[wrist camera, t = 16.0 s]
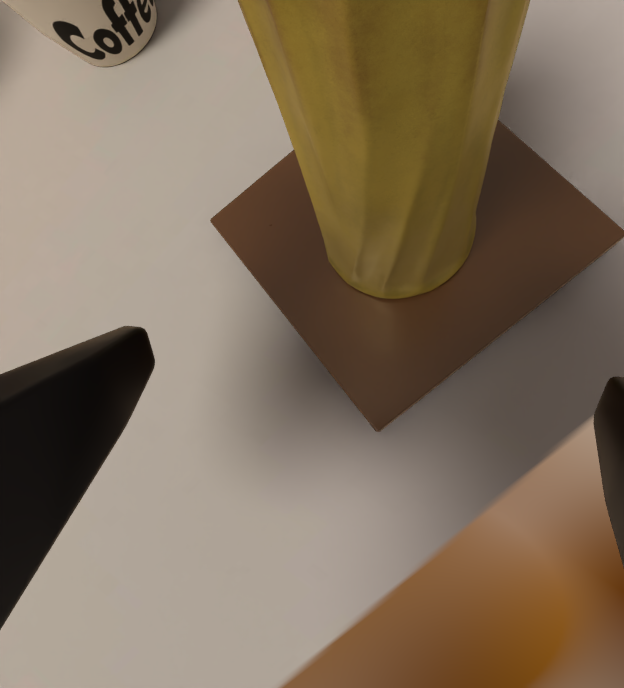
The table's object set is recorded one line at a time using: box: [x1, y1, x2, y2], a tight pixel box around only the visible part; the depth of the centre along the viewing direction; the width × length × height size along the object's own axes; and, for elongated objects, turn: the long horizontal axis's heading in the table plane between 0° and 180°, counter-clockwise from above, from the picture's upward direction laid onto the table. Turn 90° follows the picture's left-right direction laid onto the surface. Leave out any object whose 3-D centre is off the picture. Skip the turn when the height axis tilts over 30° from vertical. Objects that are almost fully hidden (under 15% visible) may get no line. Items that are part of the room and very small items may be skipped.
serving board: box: [210, 120, 624, 432], centre depth 19 cm, size 12×12×1 cm
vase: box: [238, 0, 530, 299], centre depth 12 cm, size 6×6×14 cm
